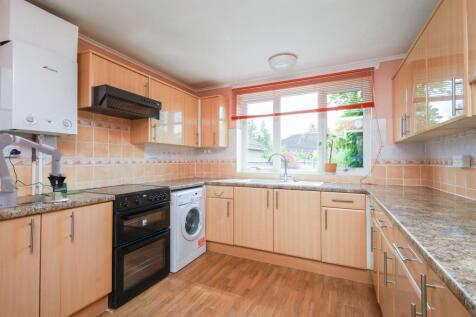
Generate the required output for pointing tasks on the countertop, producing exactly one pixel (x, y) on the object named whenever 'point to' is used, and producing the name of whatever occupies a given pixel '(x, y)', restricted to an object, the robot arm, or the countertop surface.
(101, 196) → the countertop surface
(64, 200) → the cream round disc
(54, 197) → the block
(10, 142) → the robot arm
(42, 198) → the grey square block
